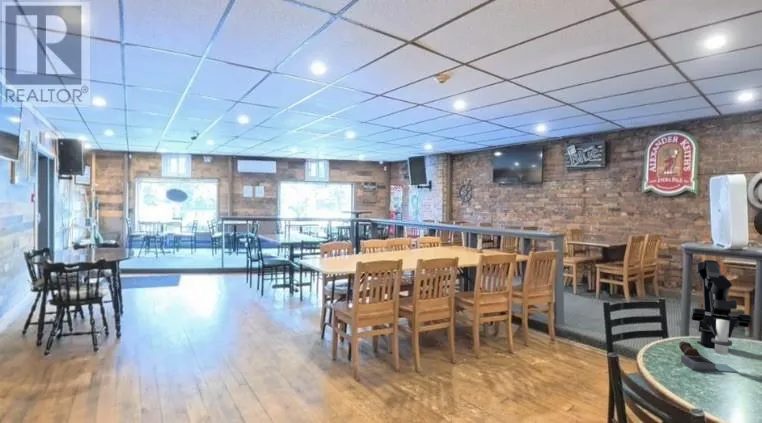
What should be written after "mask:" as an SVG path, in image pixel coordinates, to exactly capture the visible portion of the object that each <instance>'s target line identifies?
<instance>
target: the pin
mask: <svg viewBox="0 0 762 423" xmlns="http://www.w3.org/2000/svg"><path fill="white" fill-rule="evenodd" d="M711 341H712V342H713V343H715V348H714V353H716V354H720V355H723V356H726V355H728V352H729V347H730V346H733V341H732V340H729V321H727V320H722V319H716V336H715V338H712V339H711Z"/></svg>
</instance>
